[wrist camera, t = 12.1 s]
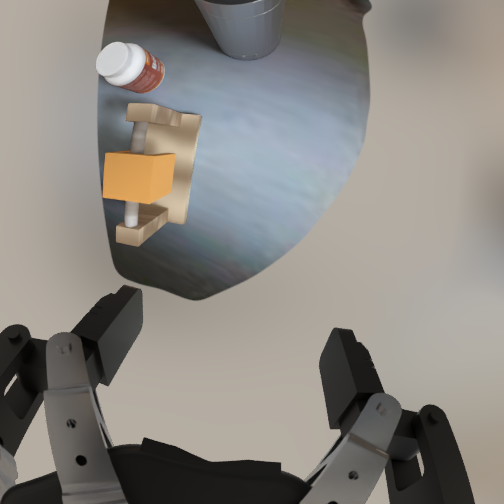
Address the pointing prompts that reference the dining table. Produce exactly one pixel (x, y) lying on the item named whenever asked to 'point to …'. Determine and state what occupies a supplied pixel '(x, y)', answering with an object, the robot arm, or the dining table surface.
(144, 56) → the pill bottle
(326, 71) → the dining table surface
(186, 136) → the rack
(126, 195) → the notched orange block
